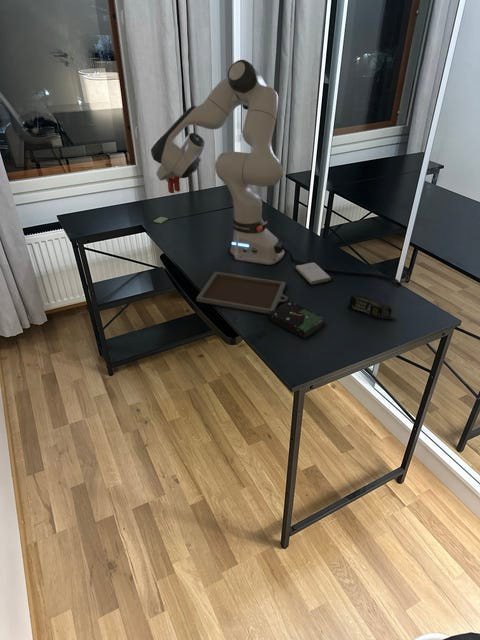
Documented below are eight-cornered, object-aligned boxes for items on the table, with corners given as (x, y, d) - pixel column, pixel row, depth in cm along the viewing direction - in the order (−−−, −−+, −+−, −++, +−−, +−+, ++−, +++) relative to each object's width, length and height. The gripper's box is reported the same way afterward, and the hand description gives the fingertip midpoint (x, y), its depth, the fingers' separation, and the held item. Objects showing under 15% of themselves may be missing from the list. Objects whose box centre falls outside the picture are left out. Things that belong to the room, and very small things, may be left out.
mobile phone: (349, 296, 142) (395, 310, 135) (353, 292, 144) (398, 305, 137) (347, 309, 145) (392, 323, 138) (351, 305, 147) (395, 318, 140)
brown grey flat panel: (214, 271, 162) (293, 283, 155) (214, 274, 163) (292, 287, 156) (195, 297, 148) (281, 312, 140) (196, 301, 148) (281, 316, 141)
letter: (180, 191, 203) (178, 169, 197) (171, 193, 200) (169, 171, 195) (177, 189, 205) (175, 168, 199) (168, 192, 202) (166, 170, 196)
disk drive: (268, 320, 140) (305, 339, 132) (268, 313, 138) (306, 331, 130) (287, 307, 146) (324, 324, 138) (288, 300, 145) (325, 317, 136)
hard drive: (310, 285, 157) (295, 269, 167) (330, 280, 160) (314, 265, 169) (311, 281, 156) (295, 265, 166) (331, 277, 159) (314, 261, 168)
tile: (168, 218, 206) (168, 218, 206) (160, 223, 202) (160, 223, 202) (160, 216, 208) (160, 216, 208) (152, 221, 204) (152, 221, 204)
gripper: (198, 151, 194) (187, 168, 205) (160, 159, 182) (150, 177, 194) (205, 163, 193) (193, 179, 205) (167, 172, 182) (157, 189, 194)
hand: (172, 178), depth 199 cm, fingers closed on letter, 5 cm apart
